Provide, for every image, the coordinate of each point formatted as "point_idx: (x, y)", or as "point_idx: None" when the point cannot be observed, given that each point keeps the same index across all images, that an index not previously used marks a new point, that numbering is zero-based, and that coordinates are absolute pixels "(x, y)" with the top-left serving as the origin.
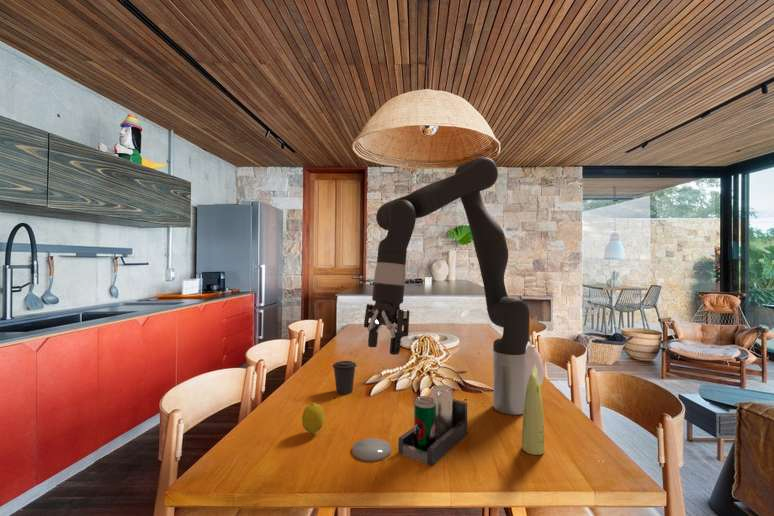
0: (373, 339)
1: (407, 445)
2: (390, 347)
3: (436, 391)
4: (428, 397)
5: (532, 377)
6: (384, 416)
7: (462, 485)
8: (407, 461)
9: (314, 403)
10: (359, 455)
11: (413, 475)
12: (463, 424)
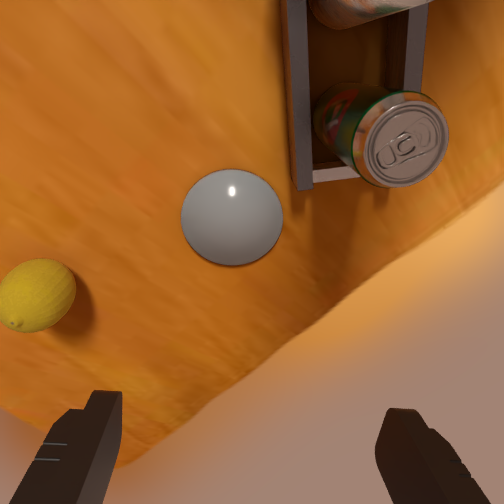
0: (100, 479)
1: (318, 172)
2: (396, 501)
3: (410, 5)
4: (409, 115)
5: None
6: (76, 19)
7: (483, 175)
8: (332, 190)
9: (17, 320)
10: (236, 261)
11: (374, 221)
12: None
